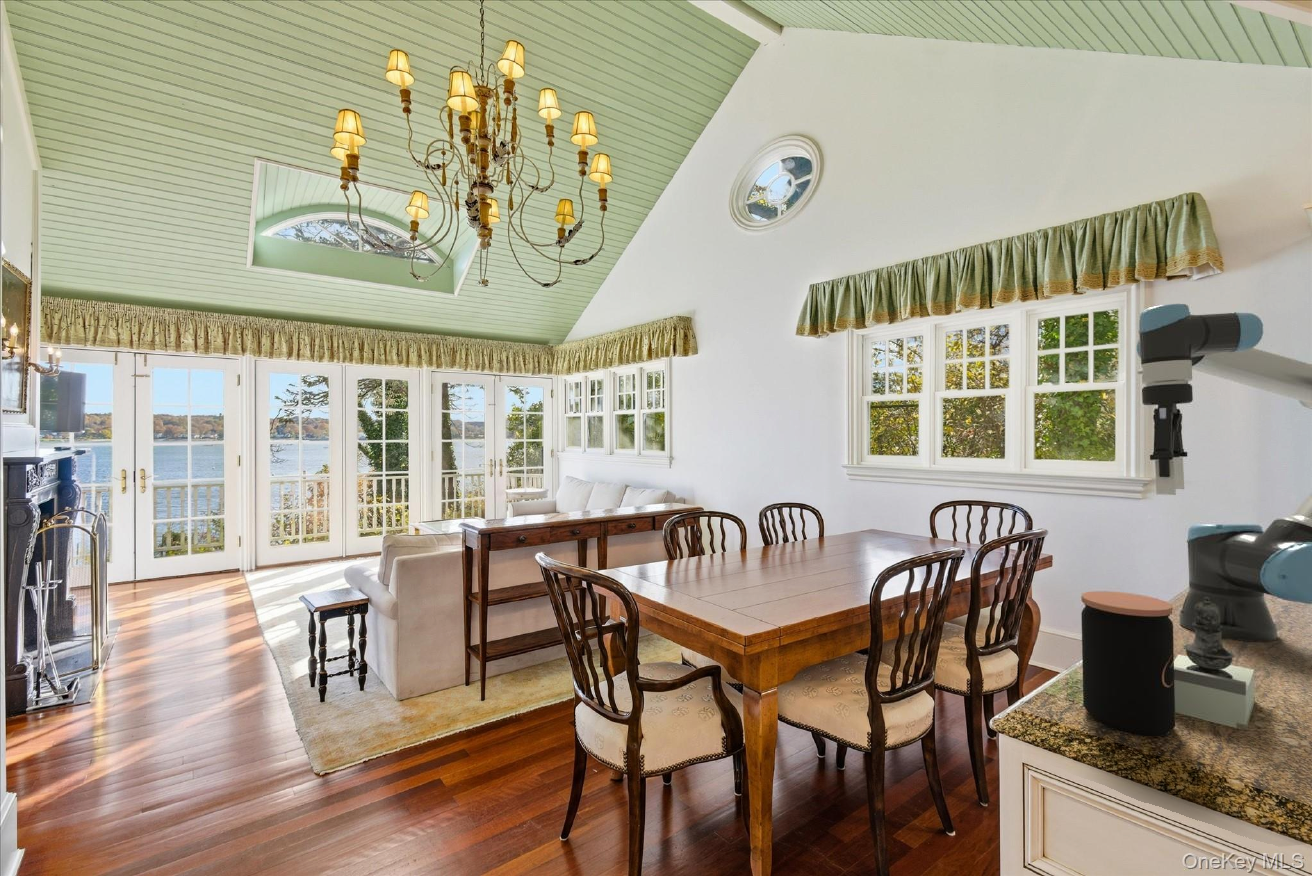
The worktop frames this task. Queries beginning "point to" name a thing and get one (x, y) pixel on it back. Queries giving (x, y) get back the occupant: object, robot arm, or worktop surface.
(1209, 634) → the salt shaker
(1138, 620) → the coffee jar
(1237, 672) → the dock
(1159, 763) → the worktop surface
